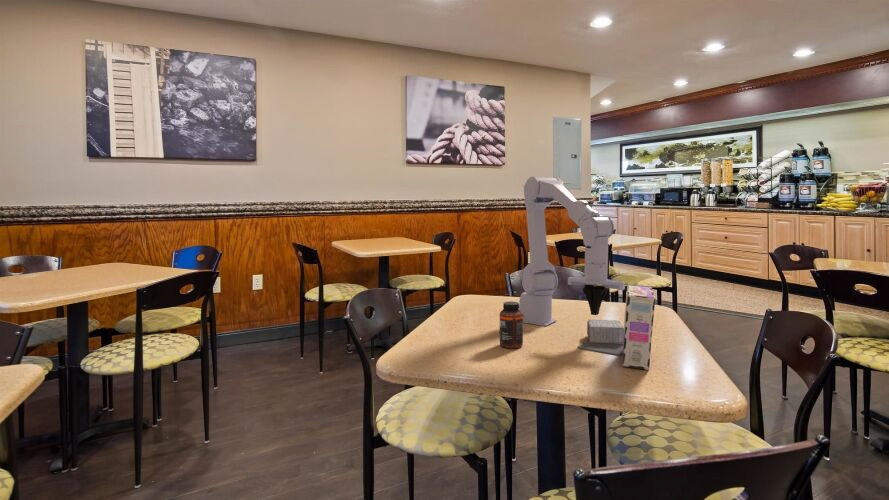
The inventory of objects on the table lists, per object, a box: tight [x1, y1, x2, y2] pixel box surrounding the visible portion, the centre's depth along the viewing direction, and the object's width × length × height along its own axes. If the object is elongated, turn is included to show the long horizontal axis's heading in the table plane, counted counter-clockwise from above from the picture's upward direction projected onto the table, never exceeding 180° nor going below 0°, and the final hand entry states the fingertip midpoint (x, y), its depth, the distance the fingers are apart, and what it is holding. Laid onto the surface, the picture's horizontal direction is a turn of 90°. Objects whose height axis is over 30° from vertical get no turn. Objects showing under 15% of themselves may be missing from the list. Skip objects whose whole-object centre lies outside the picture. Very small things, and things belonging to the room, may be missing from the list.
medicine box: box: [586, 319, 624, 344], centre depth 131 cm, size 8×4×9 cm
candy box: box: [622, 284, 656, 371], centre depth 115 cm, size 14×6×16 cm, turn 160°
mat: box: [576, 339, 623, 357], centre depth 128 cm, size 11×16×1 cm
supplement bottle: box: [499, 300, 524, 350], centre depth 127 cm, size 6×6×11 cm
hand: (594, 314), depth 130 cm, fingers closed
